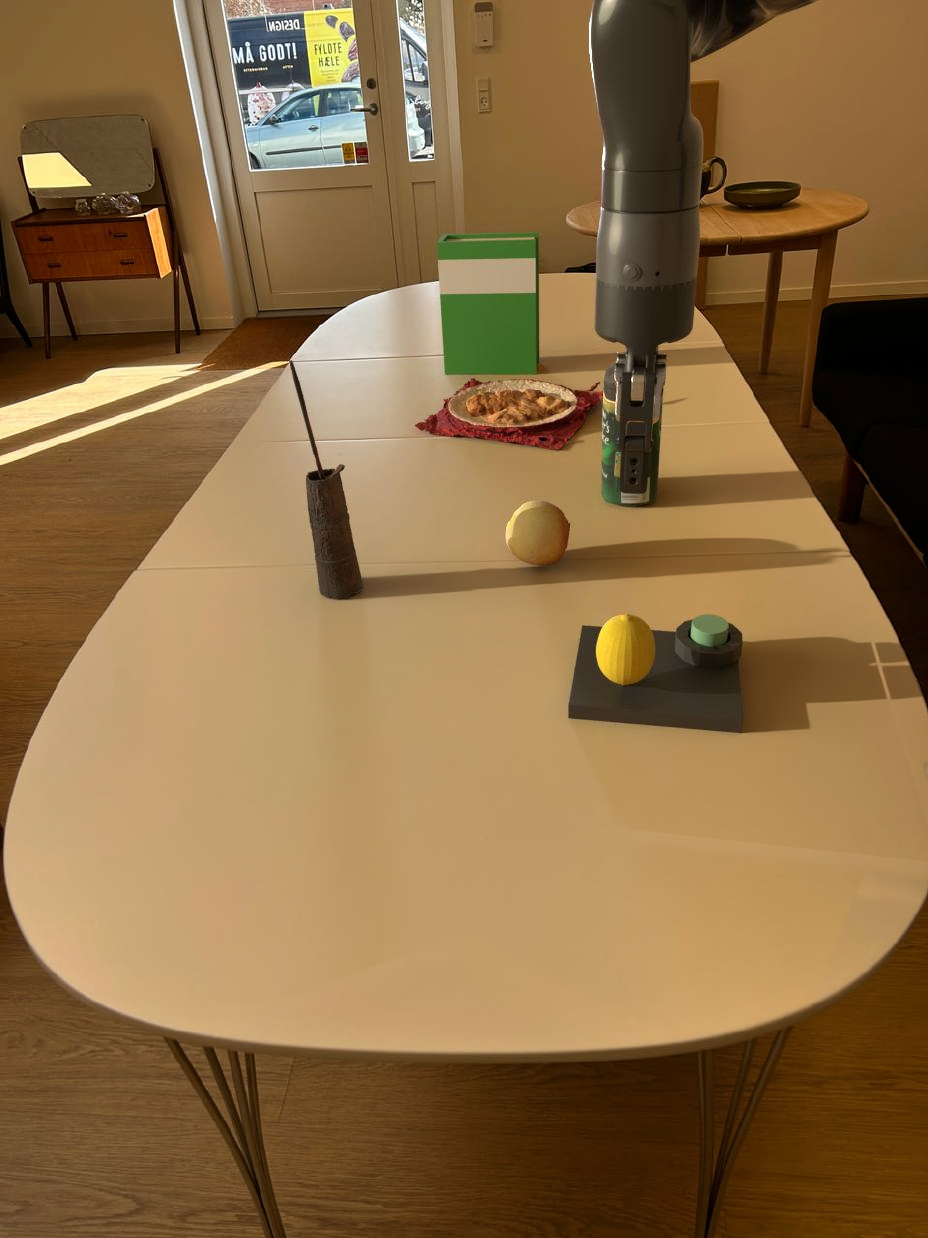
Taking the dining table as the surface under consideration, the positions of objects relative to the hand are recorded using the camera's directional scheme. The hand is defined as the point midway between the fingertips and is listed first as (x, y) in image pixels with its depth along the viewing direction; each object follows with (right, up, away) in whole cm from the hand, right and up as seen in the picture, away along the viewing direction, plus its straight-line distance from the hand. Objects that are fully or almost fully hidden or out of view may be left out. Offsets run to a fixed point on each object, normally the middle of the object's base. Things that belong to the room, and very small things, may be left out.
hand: (635, 470), depth 79 cm
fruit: (-5, -6, +37) cm, 38 cm away
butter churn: (-28, -9, +34) cm, 46 cm away
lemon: (+1, -19, +12) cm, 23 cm away
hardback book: (-9, +36, +103) cm, 109 cm away
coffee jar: (+9, +5, +52) cm, 53 cm away
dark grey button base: (+5, -19, +15) cm, 24 cm away
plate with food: (-6, +22, +80) cm, 83 cm away
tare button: (+10, -14, +15) cm, 24 cm away
